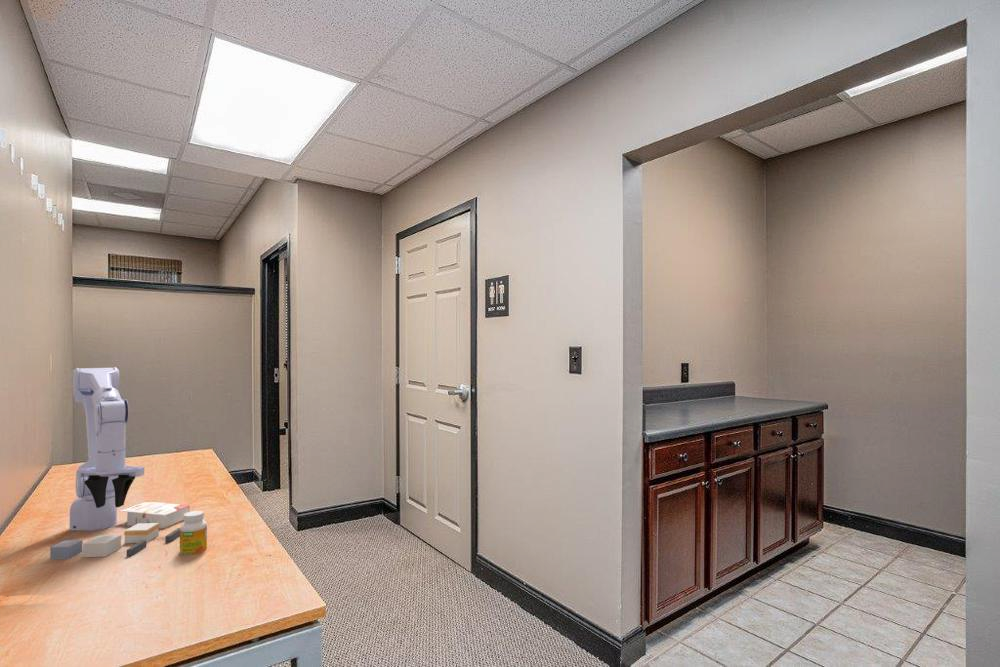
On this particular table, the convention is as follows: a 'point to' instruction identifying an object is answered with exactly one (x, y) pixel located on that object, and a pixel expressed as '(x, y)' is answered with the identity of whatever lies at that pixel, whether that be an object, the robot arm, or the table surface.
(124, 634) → the table surface
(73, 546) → the gray cube
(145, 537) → the block
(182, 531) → the supplement bottle
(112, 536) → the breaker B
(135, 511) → the ink cartridge box
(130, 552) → the panel
